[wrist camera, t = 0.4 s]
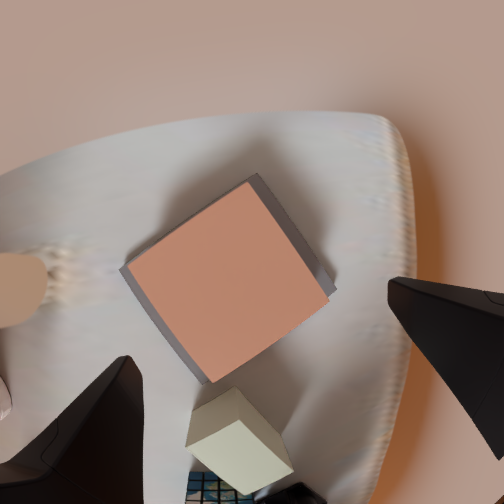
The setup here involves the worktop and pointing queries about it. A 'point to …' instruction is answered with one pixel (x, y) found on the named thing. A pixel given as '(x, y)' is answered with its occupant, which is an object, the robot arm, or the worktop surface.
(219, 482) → the puzzle
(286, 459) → the sage brick
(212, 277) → the brick base
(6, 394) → the white cup
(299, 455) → the worktop surface
